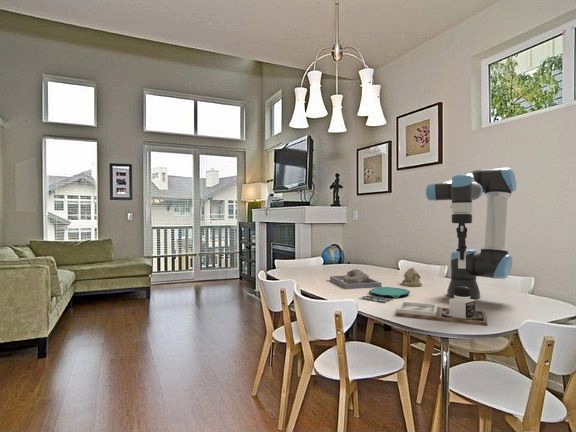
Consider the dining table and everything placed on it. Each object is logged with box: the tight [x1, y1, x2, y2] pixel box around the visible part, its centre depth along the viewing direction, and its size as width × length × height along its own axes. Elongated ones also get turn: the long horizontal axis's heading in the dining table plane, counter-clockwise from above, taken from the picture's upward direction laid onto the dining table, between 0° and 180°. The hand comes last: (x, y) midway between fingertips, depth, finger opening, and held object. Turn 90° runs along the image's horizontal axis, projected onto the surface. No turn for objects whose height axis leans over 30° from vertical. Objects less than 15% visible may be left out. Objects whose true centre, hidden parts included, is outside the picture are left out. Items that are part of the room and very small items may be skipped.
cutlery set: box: [358, 286, 411, 304], centre depth 191 cm, size 20×30×2 cm, turn 138°
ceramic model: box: [401, 267, 423, 288], centre depth 220 cm, size 14×11×10 cm
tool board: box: [395, 300, 488, 326], centre depth 155 cm, size 33×18×2 cm, turn 66°
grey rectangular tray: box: [329, 275, 382, 290], centre depth 225 cm, size 21×28×2 cm
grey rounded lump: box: [342, 268, 370, 284], centre depth 224 cm, size 16×9×15 cm
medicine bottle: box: [448, 287, 476, 319], centre depth 152 cm, size 7×7×12 cm
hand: (461, 266), depth 152 cm, fingers open, 13 cm apart
